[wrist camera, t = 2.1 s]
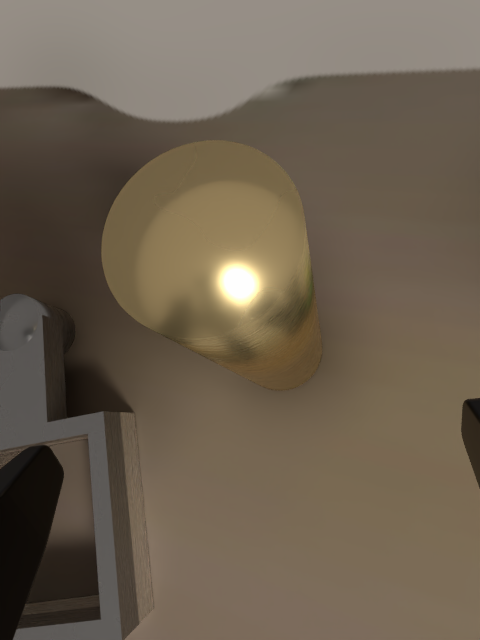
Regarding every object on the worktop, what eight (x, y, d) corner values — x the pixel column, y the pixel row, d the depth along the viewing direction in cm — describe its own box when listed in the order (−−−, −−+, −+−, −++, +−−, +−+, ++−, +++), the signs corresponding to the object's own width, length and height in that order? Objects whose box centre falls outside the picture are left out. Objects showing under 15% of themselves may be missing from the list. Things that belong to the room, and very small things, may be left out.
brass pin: (330, 381, 20) (326, 310, 7) (246, 397, 20) (110, 357, 8) (312, 299, 21) (281, 115, 8) (232, 317, 21) (93, 171, 9)
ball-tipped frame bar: (171, 788, 17) (140, 860, 14) (-14, 795, 19) (-77, 863, 16) (122, 292, 23) (92, 273, 20) (-18, 326, 24) (-65, 313, 21)
